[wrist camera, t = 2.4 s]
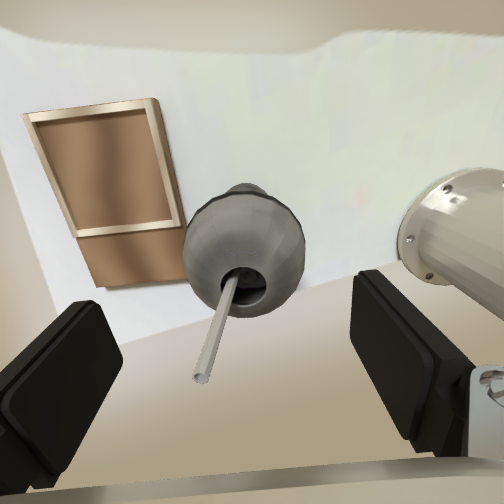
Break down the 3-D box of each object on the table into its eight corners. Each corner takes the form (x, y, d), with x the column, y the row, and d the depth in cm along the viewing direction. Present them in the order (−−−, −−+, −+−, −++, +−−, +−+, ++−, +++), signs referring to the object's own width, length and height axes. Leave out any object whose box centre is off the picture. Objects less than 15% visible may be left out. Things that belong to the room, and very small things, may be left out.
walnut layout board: (157, 99, 22) (151, 96, 20) (196, 272, 29) (193, 279, 27) (34, 115, 22) (18, 113, 20) (102, 281, 29) (94, 289, 27)
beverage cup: (286, 232, 27) (368, 434, 8) (219, 244, 27) (160, 459, 9) (276, 161, 24) (370, 233, 6) (202, 175, 24) (59, 287, 6)
